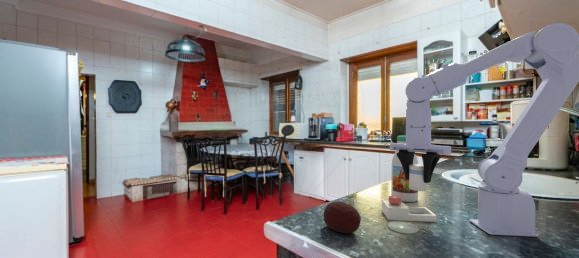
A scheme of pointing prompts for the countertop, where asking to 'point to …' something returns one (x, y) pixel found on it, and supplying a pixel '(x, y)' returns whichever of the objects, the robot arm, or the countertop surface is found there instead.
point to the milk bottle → (401, 178)
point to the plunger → (394, 200)
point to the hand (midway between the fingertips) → (417, 180)
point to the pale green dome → (403, 227)
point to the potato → (341, 217)
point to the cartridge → (417, 178)
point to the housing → (406, 212)
